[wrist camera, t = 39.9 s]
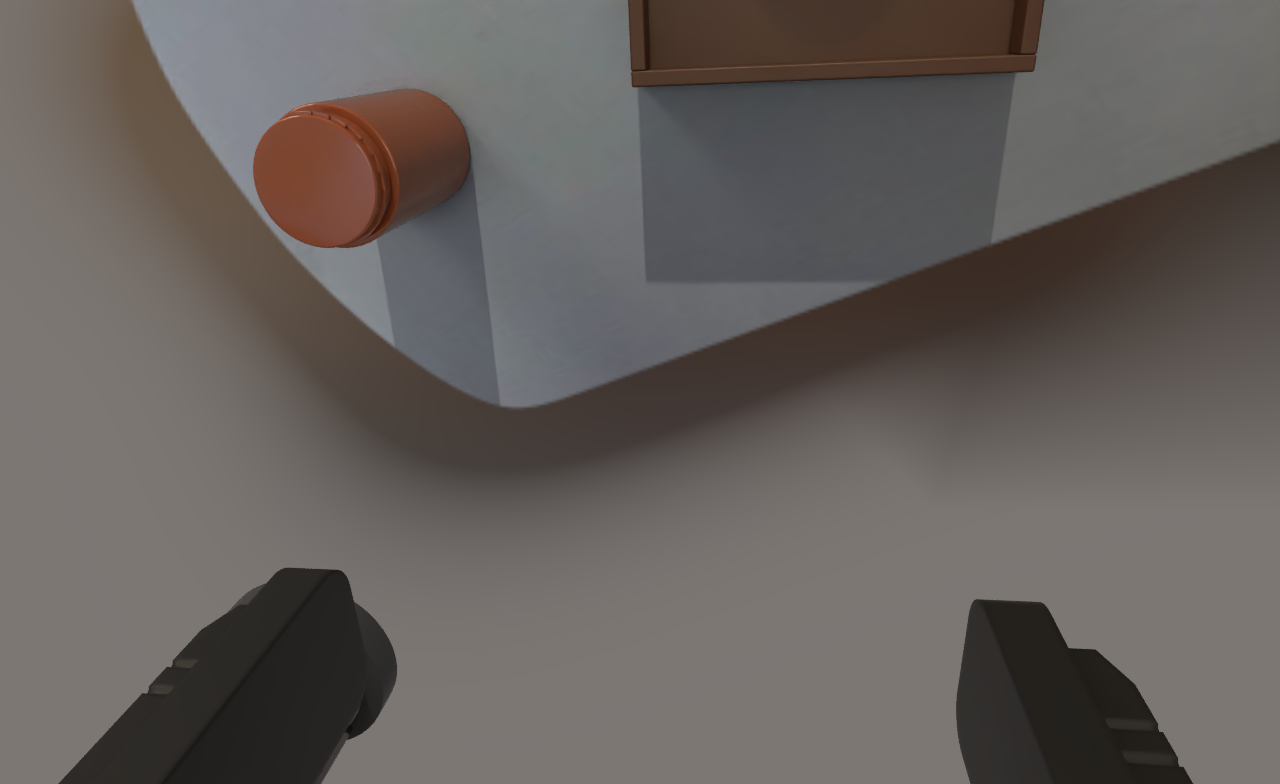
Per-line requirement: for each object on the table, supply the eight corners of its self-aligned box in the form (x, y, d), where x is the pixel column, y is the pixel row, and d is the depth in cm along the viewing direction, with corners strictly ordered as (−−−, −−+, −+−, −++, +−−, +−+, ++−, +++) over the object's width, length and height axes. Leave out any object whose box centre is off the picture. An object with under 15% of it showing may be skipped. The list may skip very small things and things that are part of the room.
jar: (477, 206, 37) (396, 255, 29) (371, 208, 38) (263, 257, 30) (462, 86, 35) (371, 102, 27) (350, 90, 36) (227, 108, 27)
